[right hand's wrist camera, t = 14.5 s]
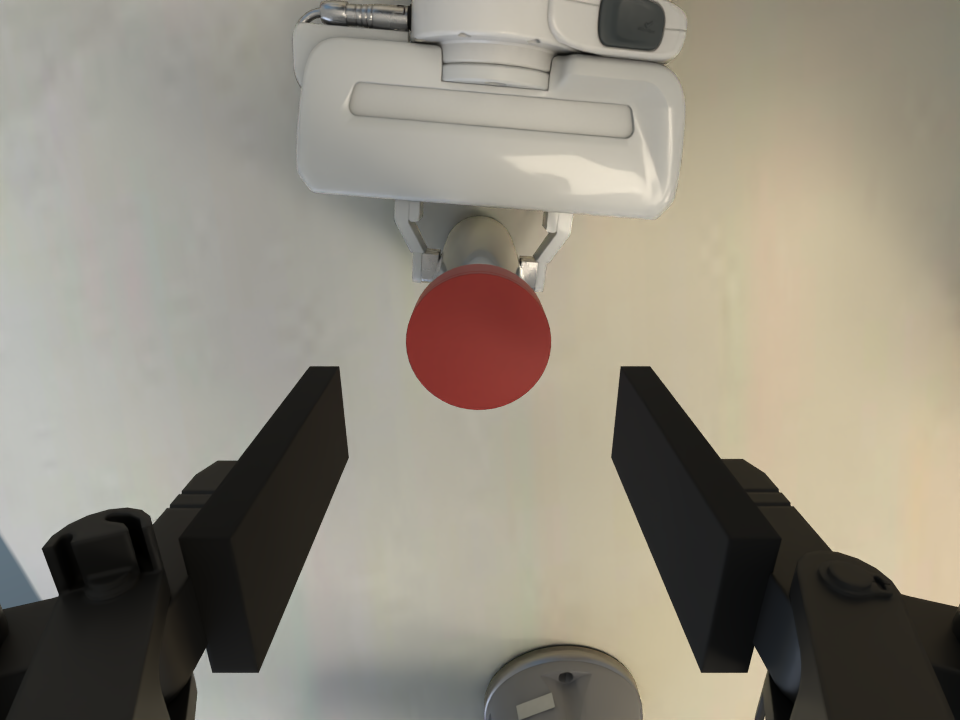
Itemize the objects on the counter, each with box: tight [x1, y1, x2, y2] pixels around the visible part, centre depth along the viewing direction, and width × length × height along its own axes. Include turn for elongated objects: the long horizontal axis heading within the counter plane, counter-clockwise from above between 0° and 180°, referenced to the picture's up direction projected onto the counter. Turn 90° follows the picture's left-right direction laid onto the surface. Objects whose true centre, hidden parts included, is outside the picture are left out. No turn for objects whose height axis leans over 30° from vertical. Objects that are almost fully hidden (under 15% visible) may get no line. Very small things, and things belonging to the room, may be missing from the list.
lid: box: [406, 264, 551, 410], centre depth 21 cm, size 5×5×2 cm
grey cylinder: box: [431, 216, 527, 283], centre depth 29 cm, size 5×5×19 cm
